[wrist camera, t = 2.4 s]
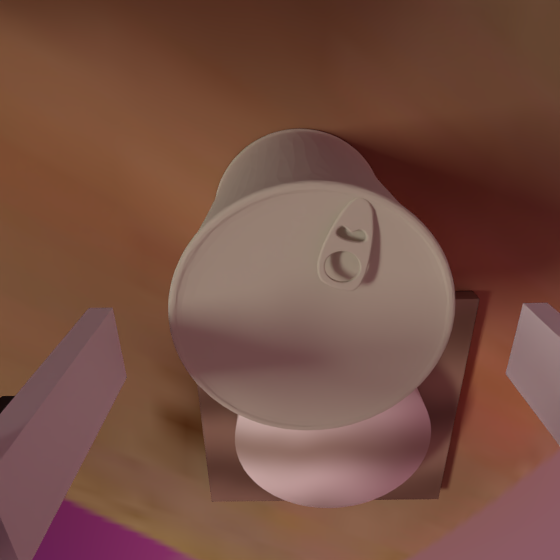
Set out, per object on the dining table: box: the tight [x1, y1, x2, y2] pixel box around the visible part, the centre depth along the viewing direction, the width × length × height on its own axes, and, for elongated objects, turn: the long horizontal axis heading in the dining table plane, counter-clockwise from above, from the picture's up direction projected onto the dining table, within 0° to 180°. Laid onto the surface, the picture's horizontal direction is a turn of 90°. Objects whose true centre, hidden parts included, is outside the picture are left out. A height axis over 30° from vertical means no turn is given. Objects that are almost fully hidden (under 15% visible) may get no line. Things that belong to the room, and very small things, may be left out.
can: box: [168, 129, 455, 430], centre depth 19 cm, size 9×9×12 cm
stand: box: [197, 291, 479, 508], centre depth 28 cm, size 17×17×4 cm
